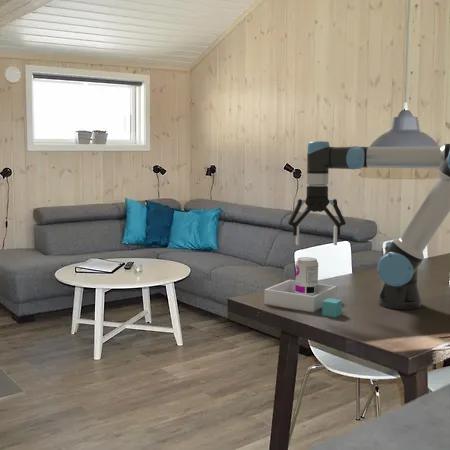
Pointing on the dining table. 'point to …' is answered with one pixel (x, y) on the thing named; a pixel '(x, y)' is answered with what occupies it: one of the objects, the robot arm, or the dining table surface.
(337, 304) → the cube
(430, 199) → the robot arm
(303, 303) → the tote
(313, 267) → the supplement can
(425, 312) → the dining table surface
